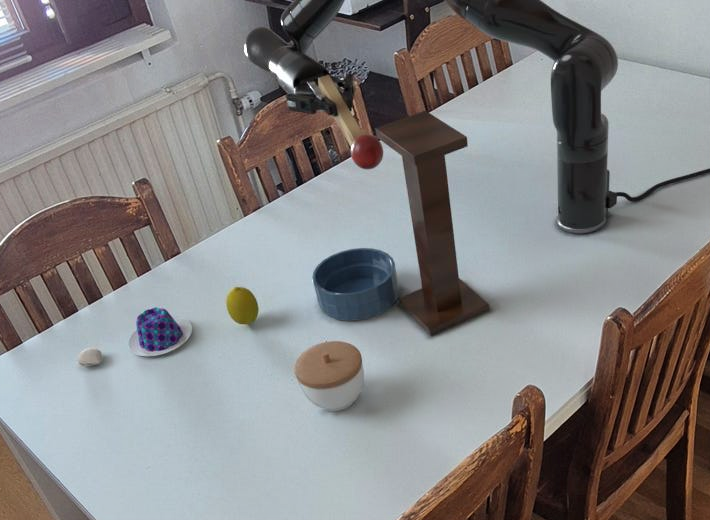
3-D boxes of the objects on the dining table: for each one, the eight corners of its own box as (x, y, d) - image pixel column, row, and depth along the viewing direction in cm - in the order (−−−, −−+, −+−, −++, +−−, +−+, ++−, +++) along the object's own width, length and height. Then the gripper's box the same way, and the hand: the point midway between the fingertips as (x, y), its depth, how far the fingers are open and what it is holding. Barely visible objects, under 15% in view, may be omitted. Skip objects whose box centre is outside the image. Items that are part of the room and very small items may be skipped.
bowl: (363, 266, 159) (358, 239, 155) (416, 293, 151) (411, 264, 146) (303, 303, 153) (295, 276, 149) (354, 333, 145) (348, 305, 140)
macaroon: (96, 352, 150) (90, 342, 148) (112, 361, 148) (106, 350, 146) (77, 365, 148) (71, 354, 146) (92, 374, 146) (86, 363, 144)
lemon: (257, 333, 148) (245, 296, 142) (229, 333, 149) (216, 296, 144) (267, 315, 152) (255, 278, 146) (240, 315, 153) (227, 278, 147)
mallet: (387, 170, 138) (390, 148, 133) (359, 180, 136) (360, 159, 131) (337, 84, 141) (338, 60, 136) (309, 94, 140) (309, 70, 135)
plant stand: (398, 303, 149) (366, 131, 126) (454, 280, 152) (433, 107, 129) (432, 338, 141) (405, 159, 118) (490, 312, 144) (475, 133, 121)
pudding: (206, 333, 150) (196, 309, 146) (153, 367, 145) (141, 344, 141) (169, 312, 157) (160, 289, 153) (117, 344, 151) (105, 321, 147)
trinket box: (305, 383, 136) (291, 338, 130) (368, 373, 136) (358, 327, 129) (305, 426, 129) (290, 380, 122) (371, 415, 129) (360, 369, 122)
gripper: (262, 68, 143) (299, 98, 132) (333, 45, 147) (375, 72, 136) (273, 111, 149) (310, 143, 138) (341, 88, 152) (382, 118, 141)
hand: (342, 108), depth 137 cm, fingers closed on mallet
